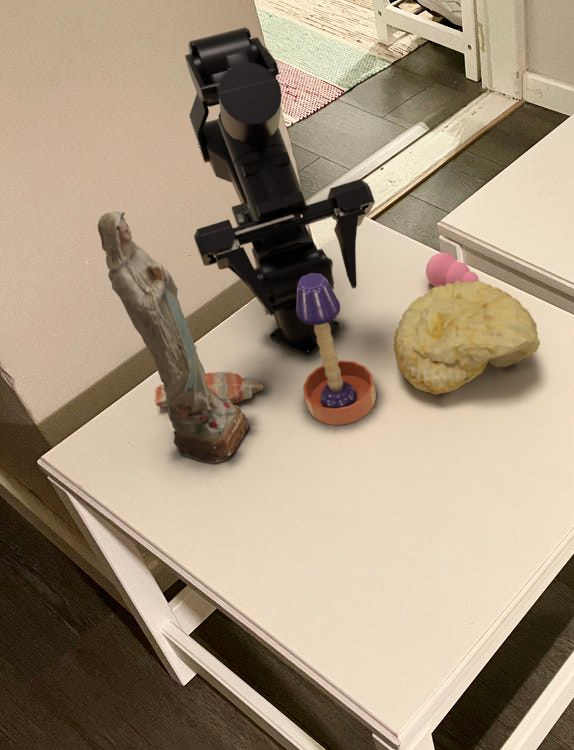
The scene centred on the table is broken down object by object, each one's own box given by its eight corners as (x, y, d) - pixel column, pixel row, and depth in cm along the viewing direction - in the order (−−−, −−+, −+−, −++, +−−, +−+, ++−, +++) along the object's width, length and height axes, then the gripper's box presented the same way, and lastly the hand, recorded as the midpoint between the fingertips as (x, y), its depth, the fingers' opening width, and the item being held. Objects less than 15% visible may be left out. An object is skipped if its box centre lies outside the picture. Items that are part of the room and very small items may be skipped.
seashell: (443, 330, 116) (368, 380, 106) (448, 252, 109) (368, 297, 99) (556, 377, 109) (487, 435, 99) (568, 297, 102) (495, 351, 92)
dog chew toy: (432, 244, 114) (480, 267, 112) (443, 253, 118) (490, 274, 117) (417, 277, 115) (465, 300, 113) (429, 284, 119) (475, 306, 117)
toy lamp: (314, 391, 106) (282, 276, 93) (350, 377, 107) (324, 261, 94) (328, 416, 104) (298, 302, 91) (365, 402, 105) (341, 286, 92)
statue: (227, 467, 100) (133, 239, 77) (169, 456, 102) (58, 229, 78) (255, 419, 104) (174, 189, 81) (199, 409, 106) (103, 181, 83)
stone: (150, 405, 104) (155, 372, 107) (157, 418, 106) (163, 385, 109) (256, 396, 104) (259, 363, 107) (262, 409, 106) (264, 377, 109)
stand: (294, 408, 105) (289, 393, 103) (337, 367, 109) (333, 352, 107) (347, 434, 102) (343, 419, 100) (389, 391, 106) (386, 375, 104)
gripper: (337, 155, 104) (384, 286, 106) (179, 203, 100) (230, 338, 102) (347, 122, 93) (400, 269, 95) (170, 174, 89) (228, 325, 91)
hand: (313, 301), depth 96 cm, fingers open, 9 cm apart
